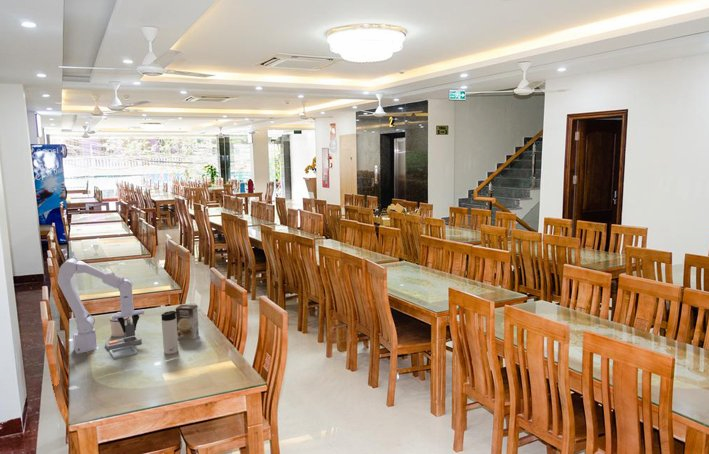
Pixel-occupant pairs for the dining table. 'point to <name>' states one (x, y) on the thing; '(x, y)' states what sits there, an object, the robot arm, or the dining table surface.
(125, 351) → the tray
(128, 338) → the power strip
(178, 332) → the coffee box
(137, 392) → the dining table surface
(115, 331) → the teacup with lid
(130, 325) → the plug
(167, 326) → the travel mug
